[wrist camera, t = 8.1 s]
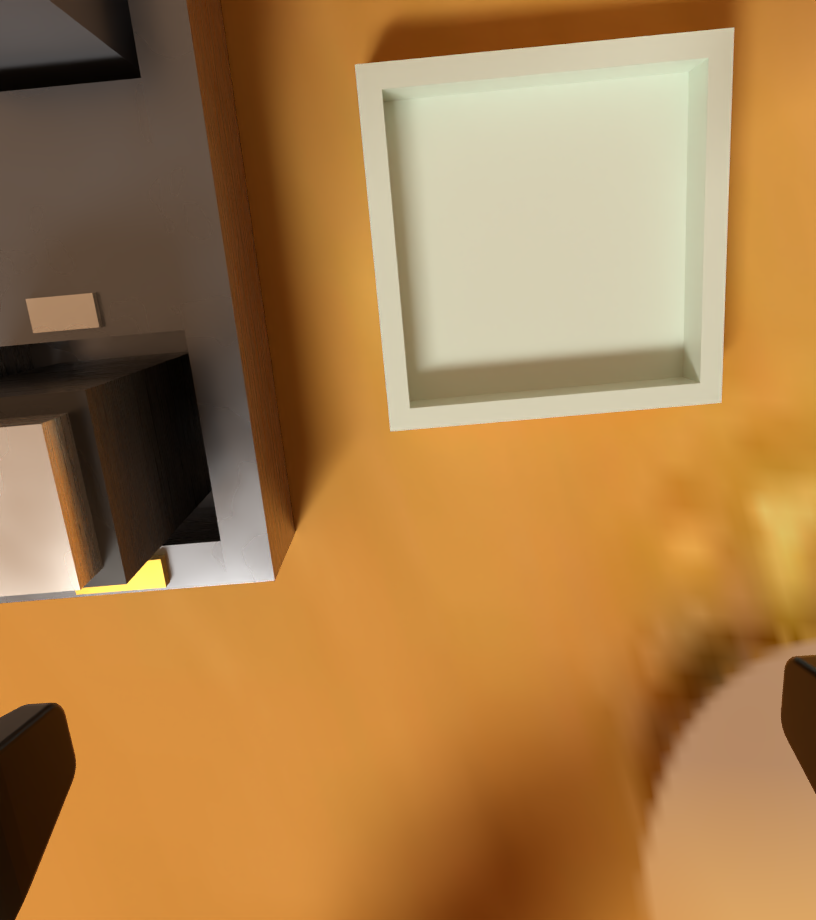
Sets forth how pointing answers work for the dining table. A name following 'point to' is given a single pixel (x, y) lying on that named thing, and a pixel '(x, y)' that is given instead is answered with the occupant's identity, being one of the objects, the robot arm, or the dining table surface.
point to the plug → (65, 43)
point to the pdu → (135, 331)
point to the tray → (550, 227)
